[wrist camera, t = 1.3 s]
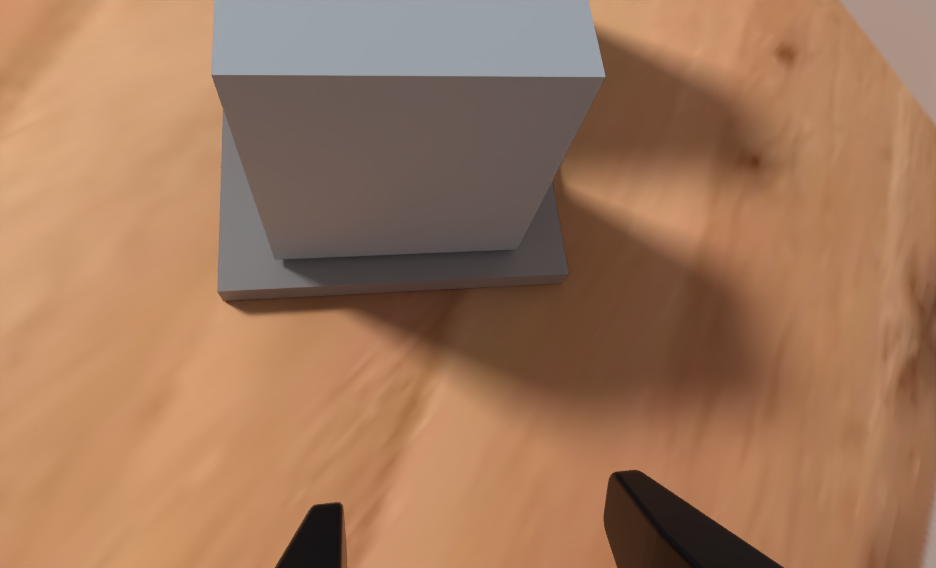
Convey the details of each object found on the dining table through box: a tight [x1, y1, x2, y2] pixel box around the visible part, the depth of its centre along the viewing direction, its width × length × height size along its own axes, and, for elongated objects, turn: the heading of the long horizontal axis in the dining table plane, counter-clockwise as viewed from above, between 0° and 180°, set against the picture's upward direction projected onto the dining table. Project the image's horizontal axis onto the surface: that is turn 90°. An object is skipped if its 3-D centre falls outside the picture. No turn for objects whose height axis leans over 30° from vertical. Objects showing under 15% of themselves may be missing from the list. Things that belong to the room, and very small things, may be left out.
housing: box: [217, 110, 569, 301], centre depth 22 cm, size 15×13×12 cm
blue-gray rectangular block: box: [212, 0, 606, 260], centre depth 20 cm, size 5×9×10 cm, turn 96°
